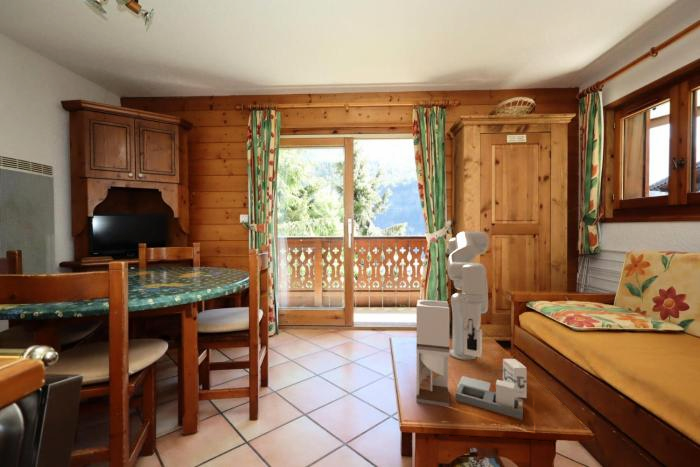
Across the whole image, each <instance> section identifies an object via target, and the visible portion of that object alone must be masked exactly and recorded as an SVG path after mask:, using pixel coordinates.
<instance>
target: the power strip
mask: <svg viewBox="0 0 700 467" xmlns="http://www.w3.org/2000/svg"><path fill="white" fill-rule="evenodd" d="M464 393H465V394H464ZM472 395H473V396H472ZM481 398H482V399H481ZM455 401H457V402H460V403H464V404H467V405H470V406H475V407H477V408H481V409H484V410H487V411H491V412H495V413H497V414H501V415H504V416H508V417H511V418H515V419H517V420H518V419H519V420H520V421H521V420H522V421H523V419H524V418H523V414H524V400H523V398H515V408H512V407H509V406H505V405H501V404H498V403H496V391H490V390H489V391H487V390H483V389H479V388H476V387H472V386H468V385H464V384H460V385H459V387H457V390H456V391H455Z"/></svg>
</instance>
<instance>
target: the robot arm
mask: <svg viewBox="0 0 700 467" xmlns="http://www.w3.org/2000/svg"><path fill="white" fill-rule="evenodd" d="M489 246H490V239H489V236H488V234H487V233H486V232H485V231H461V232H459V233H457V234H456V236H455V237H453V238H451V239H449V240H448V243H447V247H448V251H449V256H448V258H447V262H446V264H447V265H446V270H447V276H448V278H449V280H452V281H453V287H454V289H456V290H459V291H461V292H456V293H453V294H452V295H451V297H450V304H451V312H452V313H451V314H452V348H451V349H449V356H451V357H452V358H455V359H457V360H462V361H463V360H464V361H473V360H475V359H476V356H471V355H466V354H464V330H465V329H467V327H468V333H467V349H469V350H475V351H476V350H477V339H476V331H478V329H480V327H481V320H482V318H481V317H482V314H486V313H487V312H488V311H489V310H488V309H489V293H488V292H489V290H488V278H487V269H486V267H485V265H484V264H483V263H480V262H472V261H474V260H475V259H476V258H477V256H478V255H484V254H485V253H486V251H487V250H488V249H489ZM472 329H475V330H472ZM473 332H474V333H473Z"/></svg>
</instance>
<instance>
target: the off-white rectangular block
mask: <svg viewBox="0 0 700 467" xmlns="http://www.w3.org/2000/svg"><path fill="white" fill-rule="evenodd" d="M495 393H496V401H495V403H498V404H501V405H505V406H509V407H512V408H516V407H515V384H514V383H509V382H505V381H503V380H502V379H501V380H499V379H496V382H495Z"/></svg>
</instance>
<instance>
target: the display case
mask: <svg viewBox="0 0 700 467" xmlns="http://www.w3.org/2000/svg"><path fill="white" fill-rule="evenodd" d="M448 302H449V301H445V300H444V301H443V300H427V299H417V303H416V399H415V400H416V401H415V402H416V403H420V404H421V403H422V404H427V405H429V404H430V405H434V406H435V405H436V406H441V407H448V408H450V395H449V387H448V384H449V382H448V379H449V376H448V375H449V373H448V372H449V371H448V370H449V368H448V367H449V366H448V365H449V364H448V363H449V361H448V360H449V358H448V357H450V353H449V351H450V307H449V304H448Z"/></svg>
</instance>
